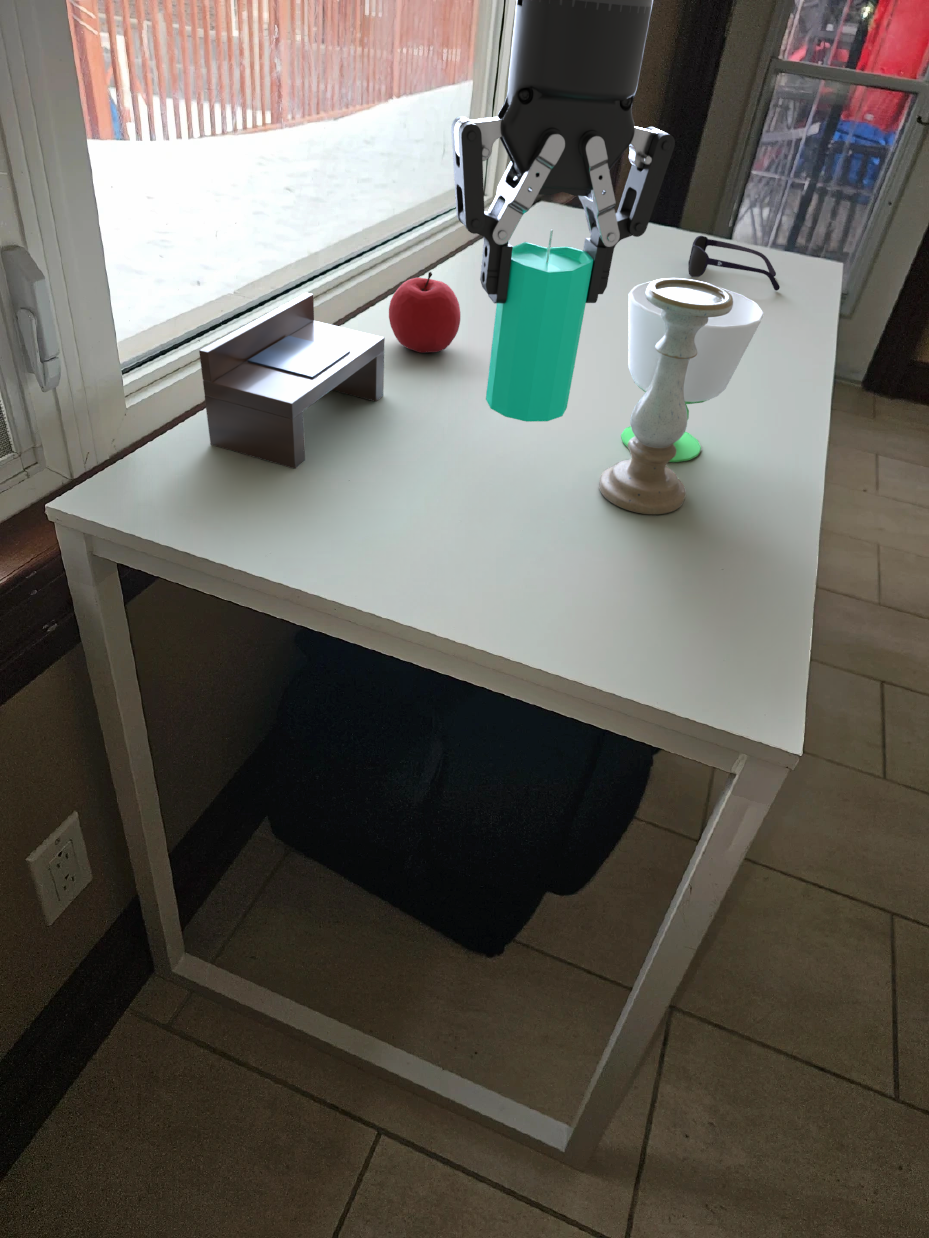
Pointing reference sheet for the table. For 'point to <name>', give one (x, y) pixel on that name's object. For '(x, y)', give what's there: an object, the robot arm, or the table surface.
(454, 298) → the apple
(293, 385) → the shelf
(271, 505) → the table surface
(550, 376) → the candle
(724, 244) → the sunglasses
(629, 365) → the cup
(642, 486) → the candle holder
